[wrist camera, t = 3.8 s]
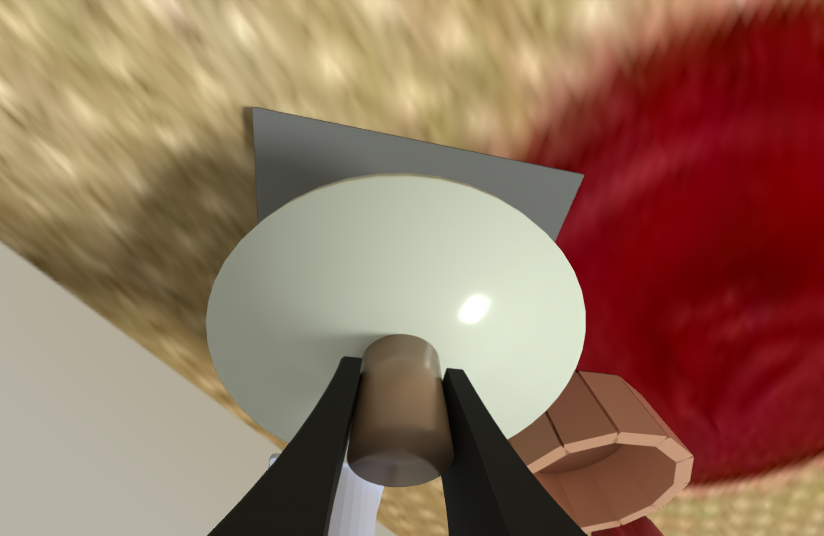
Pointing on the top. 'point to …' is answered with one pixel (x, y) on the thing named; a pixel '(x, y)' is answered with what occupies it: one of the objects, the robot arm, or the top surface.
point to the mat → (394, 166)
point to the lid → (396, 316)
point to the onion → (631, 529)
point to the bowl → (604, 453)
